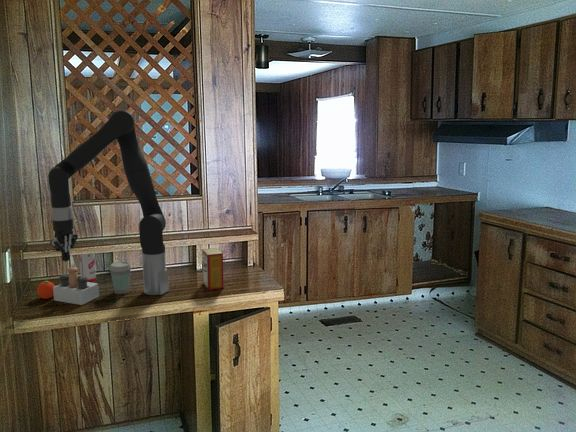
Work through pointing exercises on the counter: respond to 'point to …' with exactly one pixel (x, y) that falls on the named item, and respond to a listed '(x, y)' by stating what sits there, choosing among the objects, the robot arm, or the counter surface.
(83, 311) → the counter surface
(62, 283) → the black plug
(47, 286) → the clementine
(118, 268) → the coffee cup
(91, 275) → the white red carton
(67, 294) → the block
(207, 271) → the baking soda box
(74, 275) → the terracotta plug
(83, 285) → the black plug
